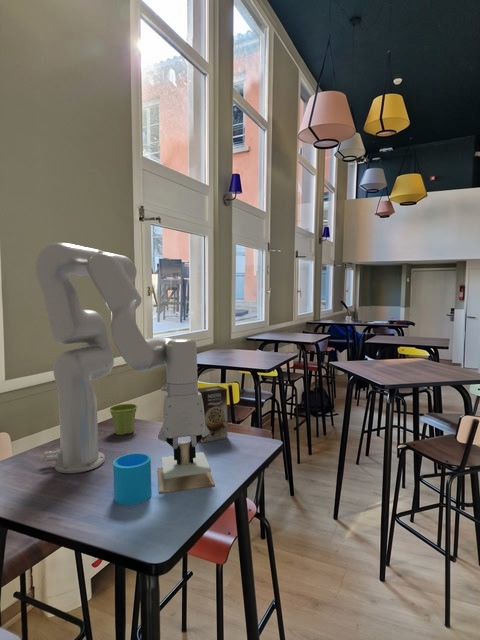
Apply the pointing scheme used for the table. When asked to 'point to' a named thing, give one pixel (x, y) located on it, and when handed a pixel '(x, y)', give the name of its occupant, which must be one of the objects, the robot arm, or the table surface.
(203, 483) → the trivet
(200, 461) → the lid
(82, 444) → the robot arm
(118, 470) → the mug
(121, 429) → the plant pot
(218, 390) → the coffee box
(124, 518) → the table surface
